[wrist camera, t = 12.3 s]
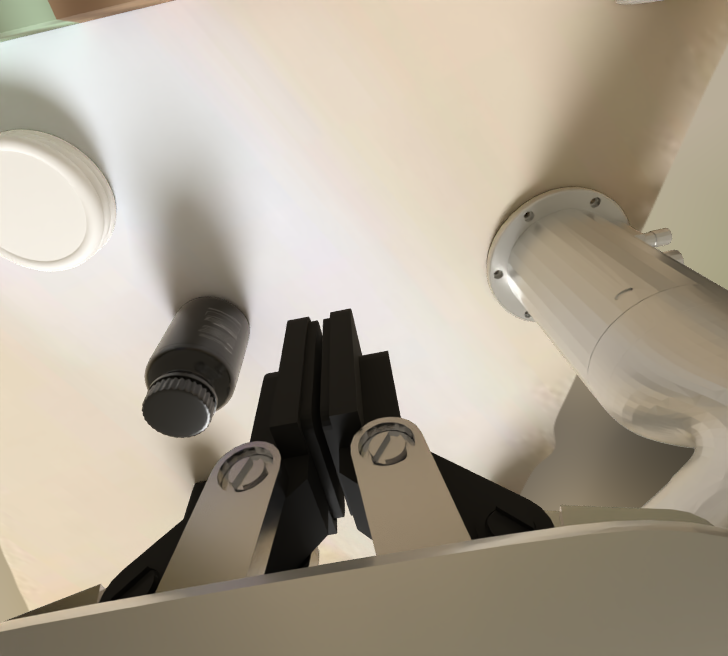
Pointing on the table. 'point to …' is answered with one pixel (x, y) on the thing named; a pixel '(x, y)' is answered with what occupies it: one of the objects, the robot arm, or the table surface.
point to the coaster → (51, 202)
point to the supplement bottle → (195, 367)
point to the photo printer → (634, 1)
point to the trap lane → (58, 14)
